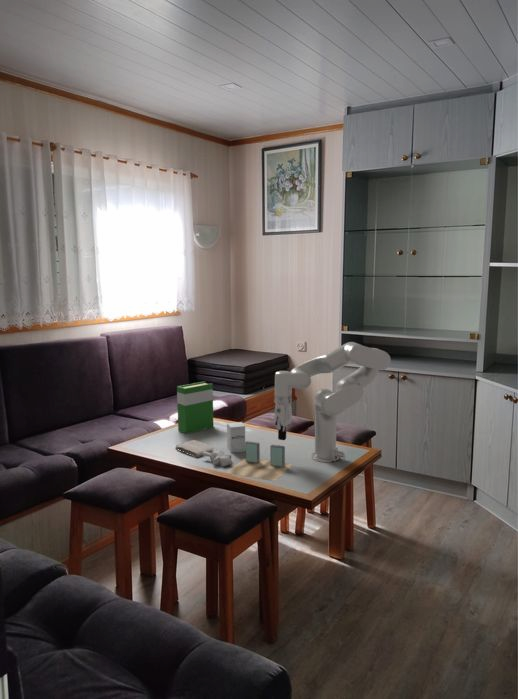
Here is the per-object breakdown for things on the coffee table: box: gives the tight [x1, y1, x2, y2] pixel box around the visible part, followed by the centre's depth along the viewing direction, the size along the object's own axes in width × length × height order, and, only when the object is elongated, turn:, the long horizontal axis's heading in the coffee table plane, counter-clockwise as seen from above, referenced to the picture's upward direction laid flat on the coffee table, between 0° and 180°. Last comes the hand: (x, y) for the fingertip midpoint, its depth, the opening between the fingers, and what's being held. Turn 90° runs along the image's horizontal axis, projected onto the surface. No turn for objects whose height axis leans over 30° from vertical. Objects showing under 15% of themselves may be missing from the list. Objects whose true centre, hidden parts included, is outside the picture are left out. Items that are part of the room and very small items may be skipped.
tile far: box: [245, 440, 261, 463], centre depth 243 cm, size 6×2×9 cm, turn 66°
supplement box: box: [226, 421, 246, 453], centre depth 260 cm, size 7×7×13 cm
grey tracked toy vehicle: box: [175, 439, 216, 458], centre depth 261 cm, size 12×18×3 cm, turn 45°
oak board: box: [225, 456, 293, 482], centre depth 236 cm, size 23×20×1 cm
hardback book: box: [176, 381, 214, 434], centre depth 293 cm, size 18×7×24 cm, turn 131°
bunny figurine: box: [202, 448, 233, 468], centre depth 244 cm, size 10×5×15 cm
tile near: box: [269, 444, 286, 467], centre depth 238 cm, size 6×2×9 cm, turn 66°
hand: (282, 439), depth 244 cm, fingers closed
